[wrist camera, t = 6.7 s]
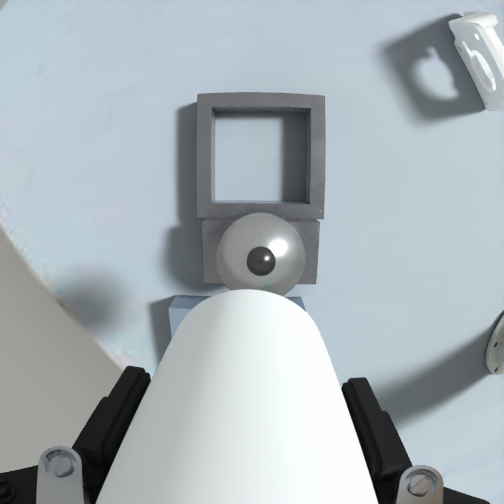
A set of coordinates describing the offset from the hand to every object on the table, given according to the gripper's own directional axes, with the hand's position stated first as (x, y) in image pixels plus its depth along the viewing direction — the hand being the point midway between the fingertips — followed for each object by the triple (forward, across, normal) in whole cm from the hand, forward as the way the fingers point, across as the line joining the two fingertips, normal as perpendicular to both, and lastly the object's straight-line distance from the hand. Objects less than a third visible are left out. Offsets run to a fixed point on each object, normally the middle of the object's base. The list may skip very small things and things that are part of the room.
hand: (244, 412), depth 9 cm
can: (+4, 0, 0) cm, 4 cm away
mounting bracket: (+20, -24, -24) cm, 39 cm away
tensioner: (+19, 0, -6) cm, 20 cm away
